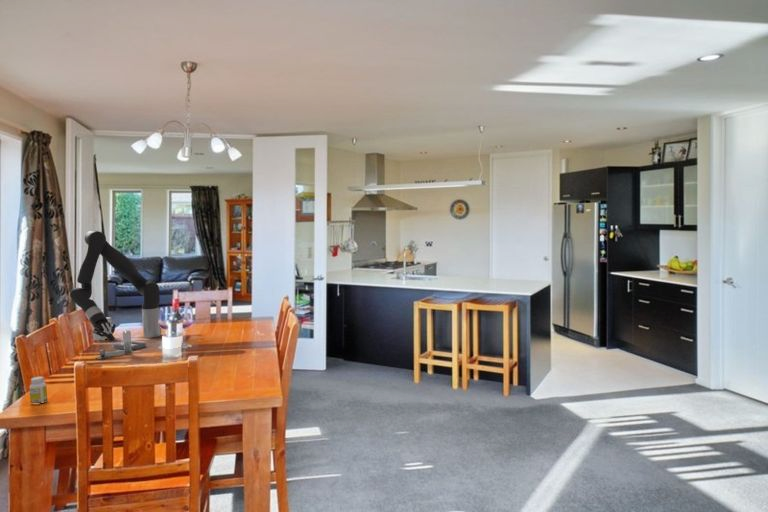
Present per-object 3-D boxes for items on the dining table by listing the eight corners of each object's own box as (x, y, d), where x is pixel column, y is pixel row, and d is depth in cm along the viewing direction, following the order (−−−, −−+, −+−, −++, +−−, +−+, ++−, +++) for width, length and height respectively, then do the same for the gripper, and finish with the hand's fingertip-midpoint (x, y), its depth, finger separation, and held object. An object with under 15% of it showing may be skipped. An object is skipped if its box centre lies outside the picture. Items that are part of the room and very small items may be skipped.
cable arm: (100, 357, 258) (99, 335, 257) (99, 356, 261) (98, 334, 260) (132, 353, 267) (131, 331, 266) (131, 351, 270) (129, 330, 269)
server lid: (128, 344, 288) (128, 340, 288) (146, 346, 283) (145, 342, 282) (114, 348, 280) (113, 344, 280) (131, 350, 274) (131, 346, 274)
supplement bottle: (43, 399, 199) (42, 375, 199) (50, 402, 196) (48, 377, 195) (28, 403, 195) (26, 378, 194) (34, 406, 192) (32, 381, 191)
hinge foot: (104, 355, 264) (104, 355, 264) (112, 357, 262) (112, 356, 262) (93, 358, 259) (93, 358, 259) (101, 360, 256) (101, 359, 256)
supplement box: (103, 340, 299) (102, 319, 298) (93, 340, 301) (91, 319, 300) (113, 338, 306) (111, 317, 306) (102, 337, 308) (101, 317, 307)
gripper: (87, 314, 270) (104, 338, 266) (110, 310, 282) (126, 333, 278) (81, 323, 272) (98, 348, 268) (104, 318, 284) (120, 342, 280)
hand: (112, 340), depth 273 cm, fingers closed
